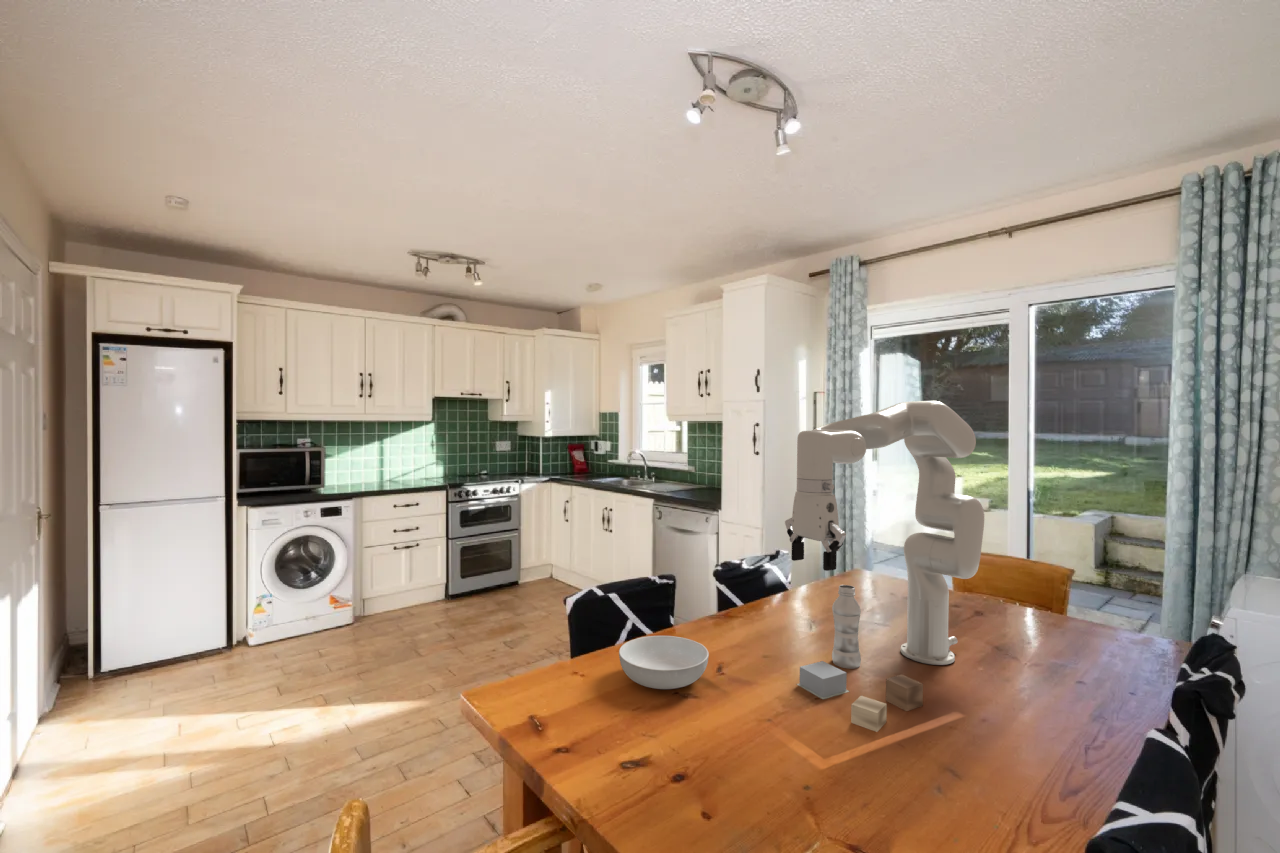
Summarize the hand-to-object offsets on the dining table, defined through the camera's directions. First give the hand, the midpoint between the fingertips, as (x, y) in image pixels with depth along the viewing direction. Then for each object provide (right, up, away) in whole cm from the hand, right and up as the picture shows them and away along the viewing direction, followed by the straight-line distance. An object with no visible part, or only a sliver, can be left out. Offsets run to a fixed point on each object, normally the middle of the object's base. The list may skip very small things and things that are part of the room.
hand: (813, 564), depth 127 cm
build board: (+2, -29, +1) cm, 29 cm away
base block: (+2, -28, +1) cm, 28 cm away
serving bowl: (-33, -29, +7) cm, 44 cm away
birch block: (+7, -29, -14) cm, 33 cm away
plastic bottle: (+12, -29, +14) cm, 35 cm away
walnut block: (+17, -29, -6) cm, 34 cm away
